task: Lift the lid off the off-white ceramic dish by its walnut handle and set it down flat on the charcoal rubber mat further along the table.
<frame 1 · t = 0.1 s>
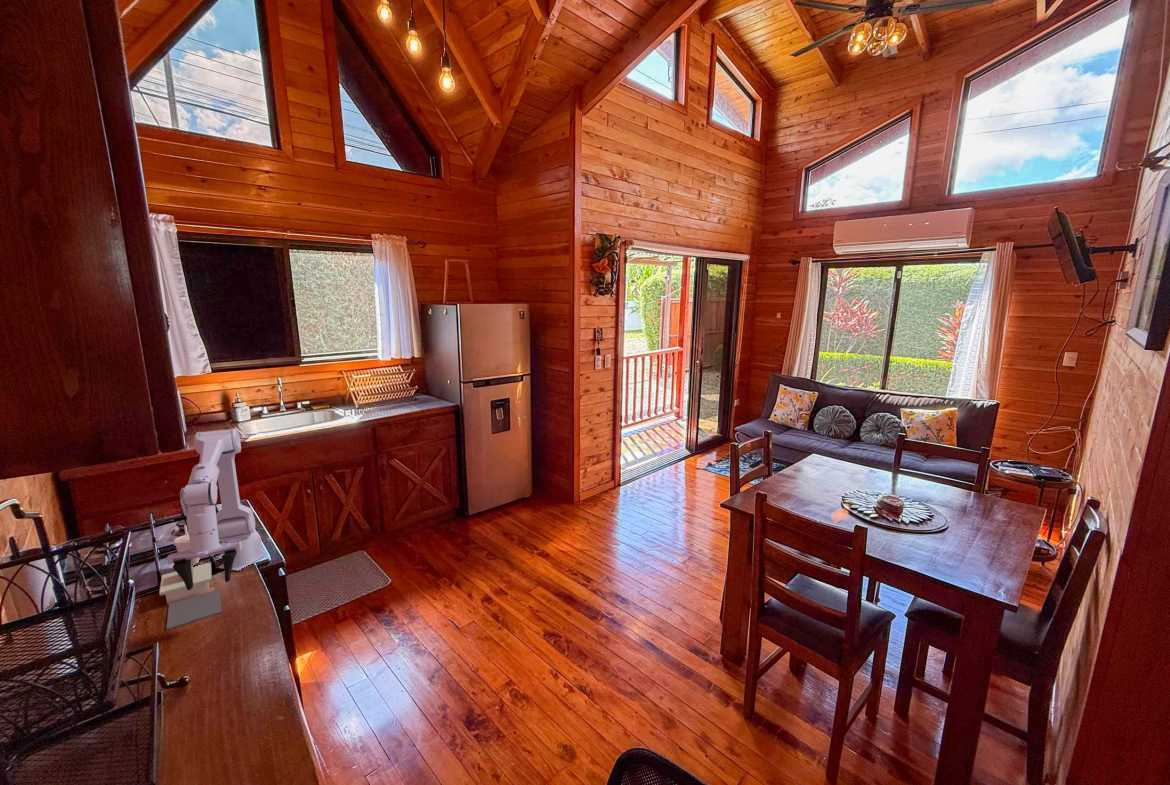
hand: (209, 584, 121), 11 cm above the counter, tool pointing down, fingers open, 7 cm apart
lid: (186, 579, 136), point 3 cm above the counter, touching dish
smoothie: (192, 567, 149), on the counter
dish: (189, 590, 137), on the counter
mat: (195, 608, 128), on the counter
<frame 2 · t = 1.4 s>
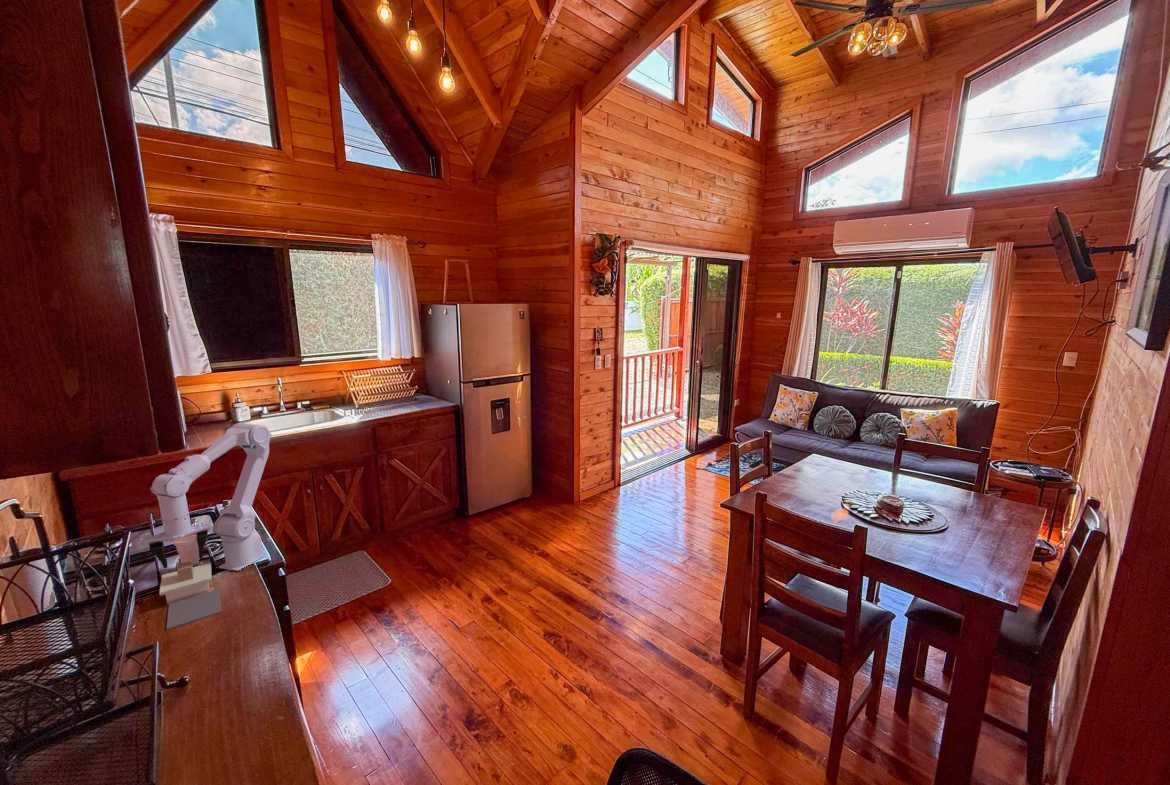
hand: (183, 561, 135), 9 cm above the counter, tool pointing down, fingers open, 7 cm apart
nothing on the counter moved.
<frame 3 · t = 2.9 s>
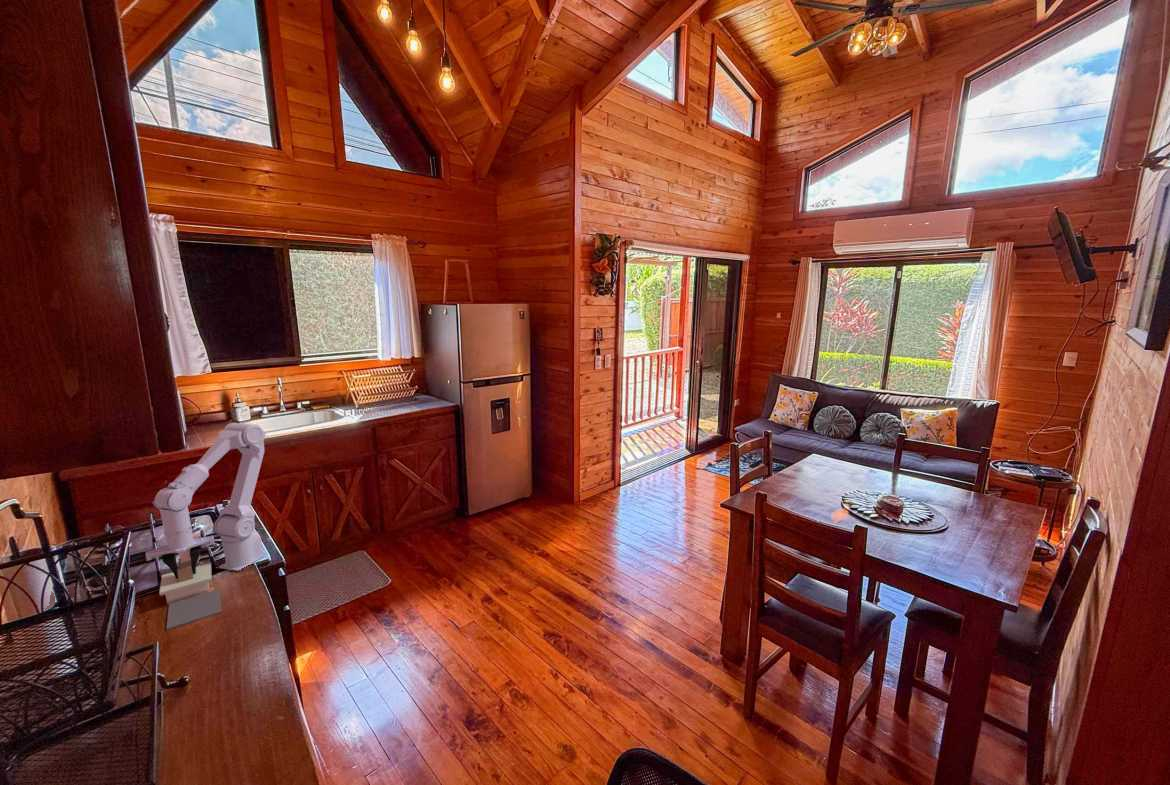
hand: (186, 574, 136), 5 cm above the counter, tool pointing down, fingers closed on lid, 3 cm apart
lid: (186, 579, 136), point 3 cm above the counter, touching dish, gripper
everything else where it was.
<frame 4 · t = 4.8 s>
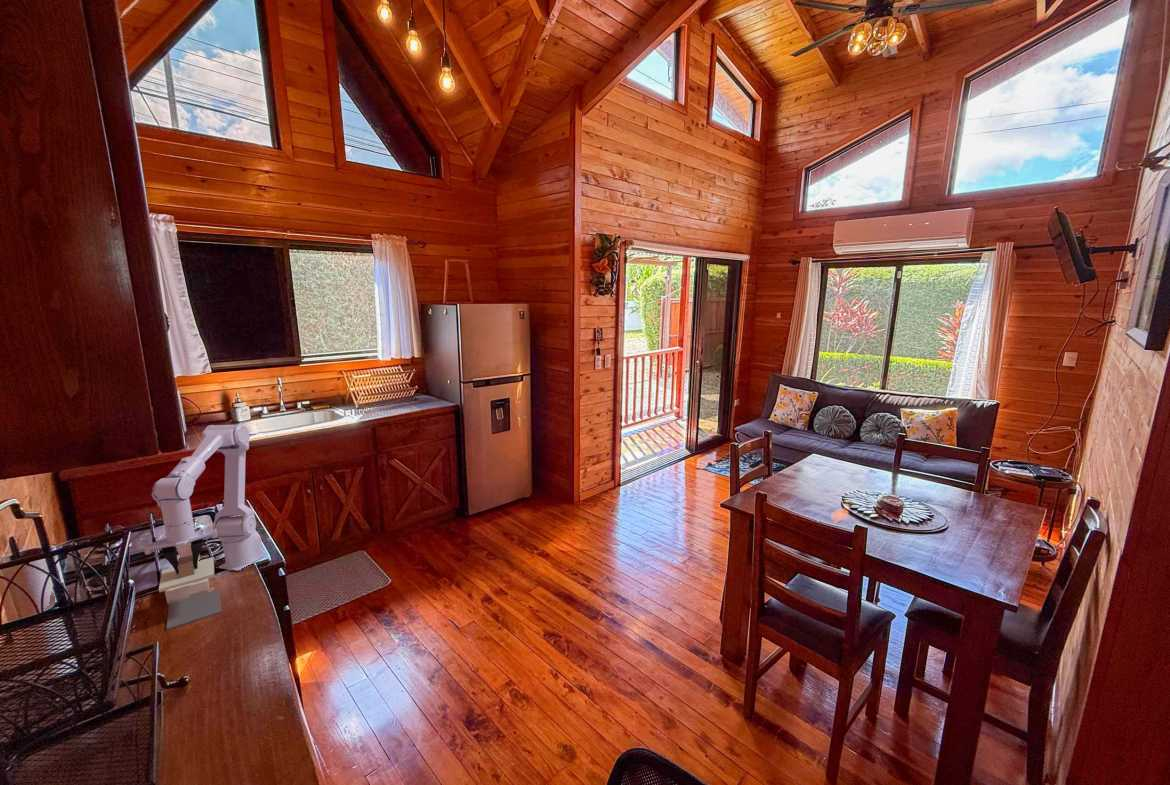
hand: (187, 569, 128), 11 cm above the counter, tool pointing down, fingers closed on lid, 3 cm apart
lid: (188, 574, 128), point 9 cm above the counter, touching gripper
everything else where it was.
when the fingers open (3 cm above the counter, at t = 7.1 s): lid drops 1 cm, resting on mat.
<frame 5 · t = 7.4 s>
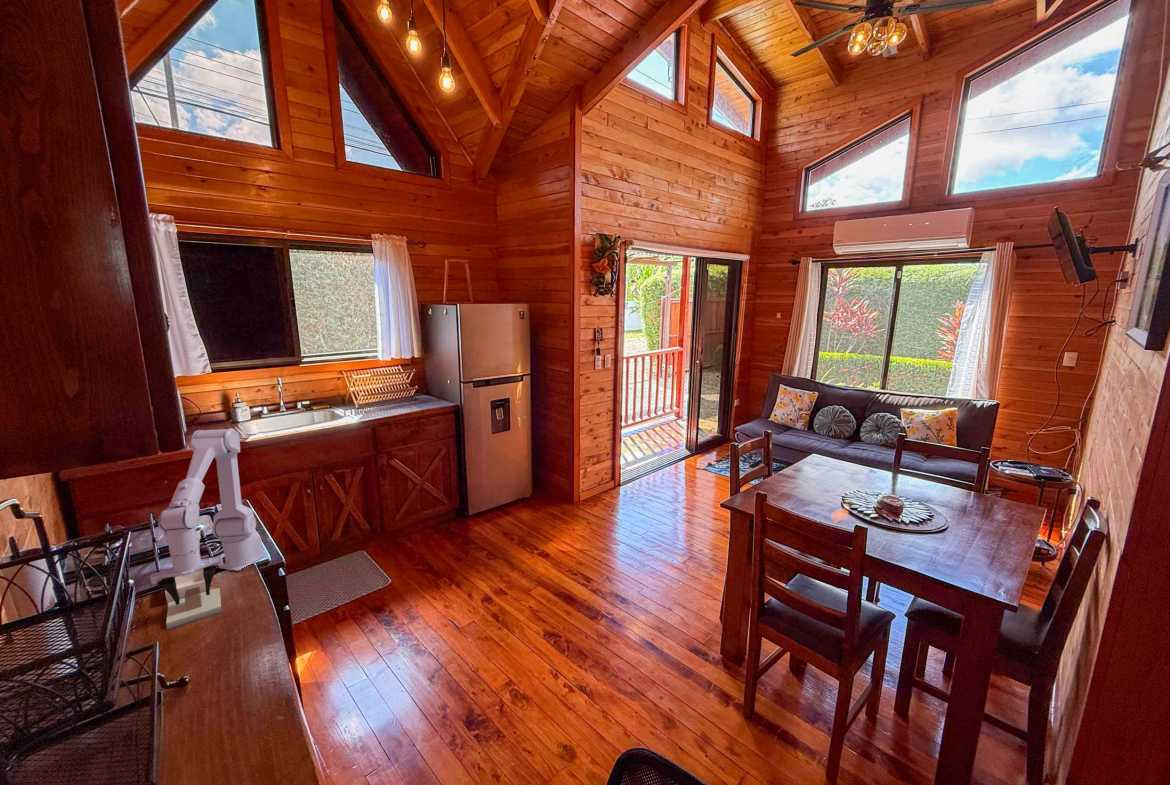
hand: (193, 598, 128), 3 cm above the counter, tool pointing down, fingers open, 6 cm apart
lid: (194, 607, 128), resting on mat
everything else where it was.
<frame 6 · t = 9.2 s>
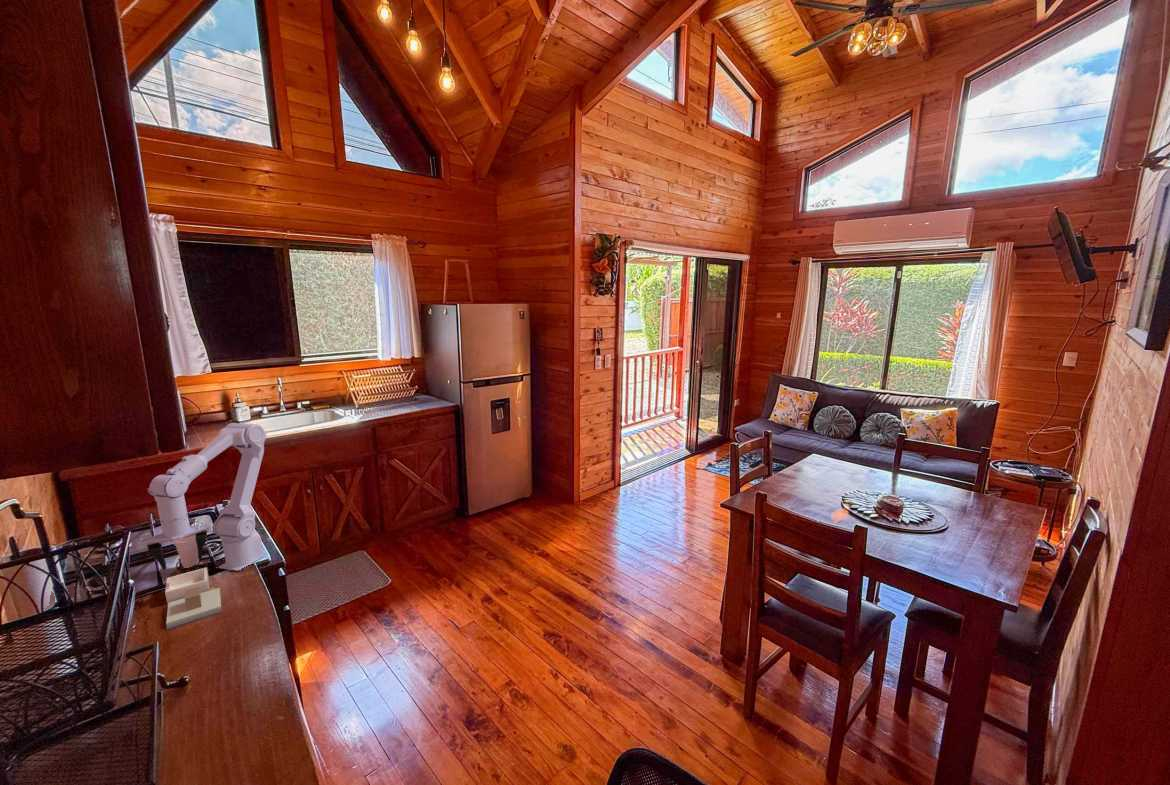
hand: (182, 563, 133), 9 cm above the counter, tool pointing down, fingers open, 7 cm apart
nothing on the counter moved.
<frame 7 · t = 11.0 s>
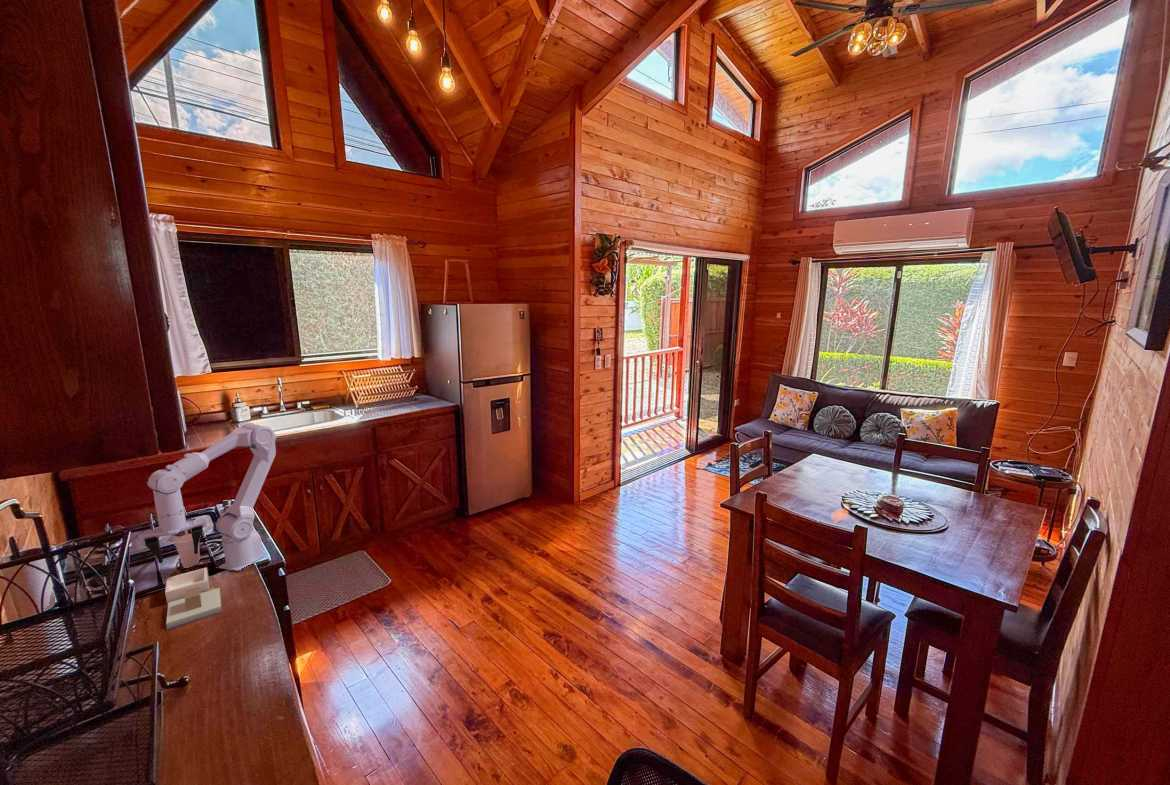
hand: (178, 557, 136), 9 cm above the counter, tool pointing down, fingers open, 7 cm apart
nothing on the counter moved.
at the end: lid inside the target area on the mat (0.2 cm from its centre), point 0.4 cm above the mat's base; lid tilted 0°; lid touching mat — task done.
